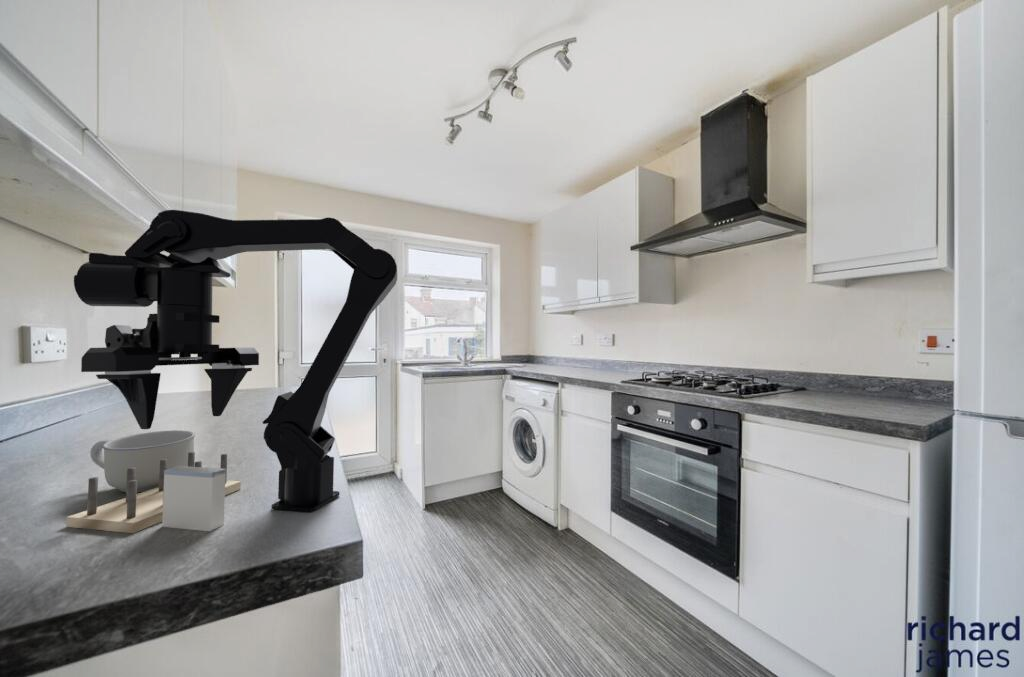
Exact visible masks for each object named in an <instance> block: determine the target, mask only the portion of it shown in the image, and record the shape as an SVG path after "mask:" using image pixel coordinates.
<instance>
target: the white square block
mask: <svg viewBox="0 0 1024 677" xmlns="http://www.w3.org/2000/svg"><path fill="white" fill-rule="evenodd" d="M225 476H226V469H221V467H219V468H217V467H203V466H202V467H195V466H194V467H189V466H177V467H174V468H170V469H167V470H164V493H163V518H162V522H161V527H162V528H173V529H181V530H182V529H183V530H193V531H205V532H212V531H214V530H216V529H218V528H220V527H222V526H224V525H225V499H226V497H225V496H226V495H225Z"/></svg>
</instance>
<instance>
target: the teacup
mask: <svg viewBox="0 0 1024 677" xmlns="http://www.w3.org/2000/svg"><path fill="white" fill-rule="evenodd" d="M195 437H196V433H195V432H193V431H189V430H181V429H178V430H175V429H174V430H173V429H171V430H159V431H149V432H142V433H137V434H129V435H127V436H121V437H118V438H115V439H112V438H106V439H105V438H104V439H102V440H99V441H97V442H95V443H94V444H93V445H92V446H91V449H90V452H89V453H90V458H91V461H92V462H93V463H94V464H96V466H98V467H99V468H101V469H103V470H104V478H105V480H106V483H107V484H108V485H109V486H110V487H112V488H113V489H116V490H119V491H120V492H122V493H126V485H127V469H128V468H132V467H135V480H137V494H139V493H140V492H141V493H142V492H145V491H148V490H151V489H154V488H157V487H159V473H160V460H162V459H167V469H170V468H174V467H177V466H188V453H189V452H195V450H194V449H195Z"/></svg>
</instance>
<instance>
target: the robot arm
mask: <svg viewBox="0 0 1024 677" xmlns="http://www.w3.org/2000/svg"><path fill="white" fill-rule="evenodd" d="M312 250H313V251H314V250H315V251H316V250H329V251H331V252H333V253H334V254H335V255H336V256H337V257H339V258H340V259H341V260H342V261H343V262H345V264H347V266H349V267H350V268H351V269H352V270H353V272H352V275H351V279H350V282H349V287H348V292H347V296H346V300H345V303H344V304H343V306H342V308H341V310H340V312H339V313H338V315H337V318H336V319H335V321H334V322H333V325H331V326H332V327H331V329H330V330H329V332H328V334H327V335H326V337H325V339H324V341H323V343H322V345H321V347H320V349H319V351H318V352H317V355H316V356H315V358H314V360H313V362H312V364H311V365H310V367H309V369H308V371H307V372H306V375H305V377H304V378H303V381H302V382H301V384H300V386H299V387H298V388H296V390H295V391H294V392H293V391H289V392H285V393H283V394H279V395H277V396H276V398H275V401H274V404H273V407H272V410H271V412H270V414H269V415H268V417H267V418H265V419H264V420H263V421H261V422H262V424H263V425H265V428H264V431H263V440H264V441H265V444H266V446H267V448H269V450H270V451H272V452H274V453H275V455H276V457H277V459H278V462H279V465H280V470H278V484H277V485H278V488H277V490H278V491H277V493H278V494H277V496H278V497H277V498H278V501H276V502H274V503H271V509H273V510H283V511H284V510H285V511H287V510H288V511H299V512H314V511H316V510H317V509H319V508H321V507H322V506H324V505H326V504H327V503H329V502H330V501H333V500H334V499H336V498H337V497H339V496H340V494H341V493H340V491H338V490H337V491H336V490H334V474H335V472H334V469H335V468H334V467H335V457H334V456H330V455H328V453H330V452H331V450H332V447H333V445H334V443H335V440H336V438H335V437H334V436H333V435H332V434H331V433H329V432H328V430H326V429H325V428H324V427H323V426H322V422H323V419H324V415H325V413H326V408H327V403H328V399H329V395H330V392H331V390H332V388H333V387H334V384H335V382H336V381H337V379H338V377H339V375H340V373H341V371H342V370H343V368H344V366H345V364H346V362H347V360H348V358H349V356H350V354H351V352H352V350H353V348H354V346H355V345H356V343H357V340H358V339H359V338H360V336H361V333H362V331H363V329H364V328H365V326H366V325H367V324H366V323H367V322H368V320H369V318H370V316H371V314H372V313H373V312H374V311H375V310H376V308H378V306H380V305H381V303H382V302H383V301H384V300H385V299H386V297H387V296H389V293H390V292H391V290H393V288H394V287H395V286H396V284H397V281H398V266H397V262H396V259H395V258H394V257H393V256H392V254H390V253H389V252H388V251H386V250H384V249H380V248H374V247H373V246H372V245H370V244H369V243H368V242H367V241H365V240H364V239H363V238H361V237H360V236H358V235H357V234H356V233H354V232H352V230H349V228H347V227H346V226H345V225H343V223H342V222H341V221H340V220H338V219H336V218H334V217H324V218H319V219H317V218H316V219H314V218H313V219H311V218H310V219H306V218H305V219H300V218H299V219H237V220H235V219H234V220H233V219H229V218H221V217H218V216H214V215H211V214H206V213H201V212H195V211H186V210H180V209H167V210H166V209H165V210H162V211H159V212H158V213H157V215H156V216H155V217H154V218H152V220H151V222H150V225H149V228H148V229H146V231H145V232H144V233H143V234H142V235H141V236H139V238H137V239H136V241H134V242H133V243H132V245H130V247H129V248H127V249H126V251H124V255H113V254H106V253H101V252H90V253H89V254H88V261H87V262H85V263H83V264H81V265H80V267H79V268H78V270H77V272H76V274H75V275H74V276H73V286H74V290H75V292H76V294H77V298H79V299H80V301H82V302H83V303H84V304H85V305H87V306H90V307H126V308H127V307H129V308H130V307H132V308H134V307H137V308H139V307H140V308H141V307H143V308H145V307H150V306H152V305H153V304H154V302H156V304H157V305H156V313H149V314H148V317H147V320H146V321H147V322H146V326H145V327H144V328H132V326H131V325H119V324H113V325H110V326H108V327H107V328H106V330H105V338H104V343H105V344H104V345H105V346H106V347H90V348H89V349H88V350H87V351H86V352H85V353H84V354H83V355H82V357H81V369H80V370H81V373H100V372H101V374H95V377H96V378H97V379H98V380H106V381H109V382H110V383H111V384H112V385H114V386H115V387H117V389H118V390H119V391H120V393H121V394H122V396H123V397H124V398H125V400H126V402H127V404H128V406H129V408H130V411H131V412H132V415H133V417H134V418H135V420H136V423H137V424H138V426H139V428H140V430H150V429H151V428H152V425H153V422H154V418H155V414H156V413H155V412H156V407H157V399H158V393H159V389H160V383H161V382H160V381H161V376H162V375H161V372H152V370H154V369H155V367H157V366H158V367H159V366H178V365H179V366H180V365H182V366H184V365H206V364H208V365H209V366H210V367H211V368H204V372H205V374H207V376H208V378H209V379H210V395H211V396H210V398H211V400H210V401H211V402H210V403H211V414H212V417H221V416H222V414H223V412H224V411H225V409H226V407H227V406H228V404H229V402H230V401H231V399H232V396H233V394H234V393H235V391H236V390H237V389H238V386H239V385H240V383H241V382H242V381H243V379H244V378H245V376H246V375H247V373H248V372H252V371H253V367H247V366H259V365H260V360H259V359H260V353H259V352H258V351H257V350H256V348H255V347H220V344H214V343H213V338H212V337H213V333H212V332H213V324H216V323H217V324H219V323H220V315H215V314H213V278H230V277H231V276H232V274H231V273H230V272H229V271H227V270H226V269H225V268H223V266H222V265H221V264H220V263H219V261H218V260H224V259H227V258H230V257H232V256H235V255H238V254H241V253H247V252H248V253H250V252H276V251H277V252H279V251H280V252H282V251H312ZM162 252H166V253H168V255H165V254H163V253H162ZM212 343H213V344H212ZM172 355H178V357H177V356H175V357H172ZM192 355H197V356H192ZM102 372H103V373H102Z"/></svg>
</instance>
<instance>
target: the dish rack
mask: <svg viewBox="0 0 1024 677" xmlns="http://www.w3.org/2000/svg"><path fill="white" fill-rule="evenodd" d="M195 453H196V452H195V451H194V452H189V453H188V466H189V467H203V466H202V464H203V462H202V460H198V461H197V460H196V461H195V459H196V458H195V457H196V456H195V455H196V454H195ZM220 468H221V469H226V476H225V496H227V495H230V494H232V493H235V492H237V491H239V490H241V486H242V484H241V483H242V481H237V480H227V472H228V470H227V469H228V453H221V454H220ZM164 470H167V459H162V460H160V473H159V487H157V488H154V489H151V490H148V491H145V492H141V493H137V480H135V467H132V468H128V469H127V485H126V492H125V497H124V498H122V499H117V500H114V501H111V502H108V503H105V504H103V505H100V506H97V505H98V488H99V477H98V476H94V477H90V478H88V487H87V488H88V490H87V508H86V510H84V511H80V512H77V513H75V514H71V515H67V516H66V521H65V522H66V523H65V527H66V528H74V529H85V530H96V531H107V532H117V533H128V534H134V533H137V532H139V531H142V530H144V529H147V528H149V527H152V526H154V525H157V524H159V523H162V518H163V493H164Z"/></svg>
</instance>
